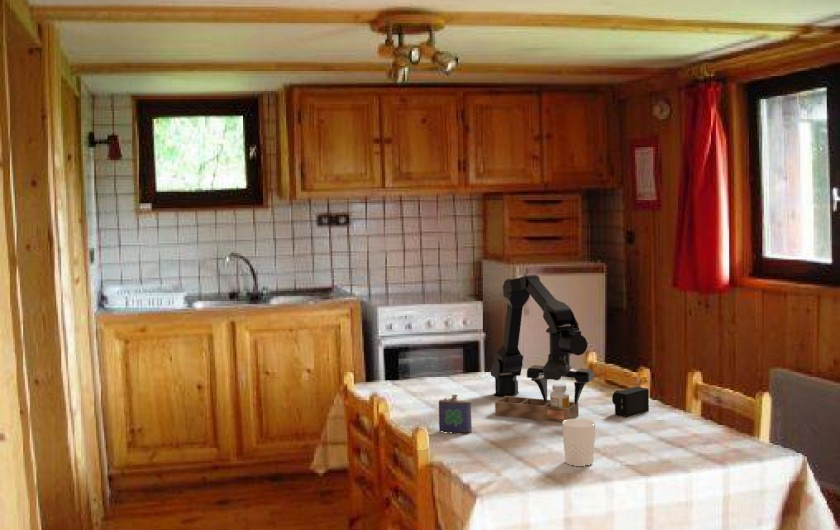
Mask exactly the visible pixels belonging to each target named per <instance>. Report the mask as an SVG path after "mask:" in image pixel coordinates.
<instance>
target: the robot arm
mask: <svg viewBox="0 0 840 530" xmlns="http://www.w3.org/2000/svg"><path fill="white" fill-rule="evenodd" d="M502 292H503V293H502V294H503V295H502V296H503V298H504V300H505V301H506V314H505V322H504V332H503V341H502V345H501V347H500V348H499V350H498V351H497V353H496V355H495V360H494V362H493V364H492V366H491V368H490V370H489V371H490V376H491V377H492V378H494V385H495V389H494V390H495V393H493V396H496V397H505V396H512V397H515V396H517V394H519V393H520V391H519V380H517V376H518V377H520V376H521V373H522V368H523V361H524V355H523V354H522V353H521V352H520V350H519V344H520V335H521V326H522V325H521V324H522V317H523V308H524V306H525V305H526V303H527V302H528V301H529V299H530V296H531V297H532V299H533V300H534V301H535V302H536V304H537V305H538V306H539V307H540V309H541V310H542V313H543V314H542V318H543V319H544V321H545V322H546V325H547V326H548V328H547V329H546V331H545V332H546V333H547V334H549V354H548V355H547V362H546V363H545V364H544V365H540V364H538V365H537V364H534V365H532V366H530V367H528V368H527V369H526V378H527V379H530V380H531V381H533V382H534V383H536V385H537V387H538V388H539V391H540V393H541V395H542V399H544V401H545V402H546V401H547V400H548V380H553V381H559V380H561V379H562V378H571V379H575V381H574V383H573V384H574V396H573V397H574V401H573V402H575V404H577V402H578V403H579V398H580V397H581V394H582V391H583V390H584V387H585V385H587V383H590V382H591V381H593V380H594V379H595V372H594V370H593V369H592V368H579V369H577V370H572V365H571V356H572V355H575V356H581V355H583V354H585V353H586V351H587V349H588V343H589V342H588V341H587V339H586V337H585V336H584V335H582V331H581V330H580V327H579V323H578V321H577V319H576V317H575V314H574V312H573V310H572V308H571V307H570V306H569V305H568V304H566V303H565V302H563V301H560V300H558V299H556V298H555V297H554V296H553V294H552V293H551V292H550V291H549V289H547V287H546V286H545V285H544V284H543V283H542V281H541V278H540V277H539V276H538V275H536V274H528V275H525V274H524V275H523V276H520V277H516V278H514V277H513V278H507V279H506V280H504V283H503V284H502Z"/></svg>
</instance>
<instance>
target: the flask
mask: <svg viewBox="0 0 840 530" xmlns="http://www.w3.org/2000/svg"><path fill="white" fill-rule="evenodd" d="M457 397H458V394H452V395H451V398H447V397H445V398H444V399H440V400H438V427H439V428H438V429H439V432H440V431H443V432H452V434H456V433H467V434H468V433H470V434H472V430H473V429H472V420H473V419H472V401H471V400H469V399H467V400H461V399H460V400H458V398H457Z"/></svg>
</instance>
